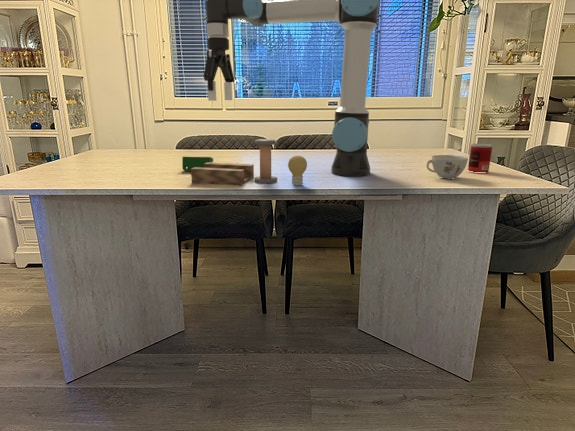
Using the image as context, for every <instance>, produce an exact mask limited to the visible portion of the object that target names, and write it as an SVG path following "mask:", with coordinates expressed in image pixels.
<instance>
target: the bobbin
mask: <svg viewBox="0 0 575 431" xmlns="http://www.w3.org/2000/svg"><path fill="white" fill-rule="evenodd" d="M276 141H277V140H276V139H268V138H267V139H266V138H265V139H264V138H261V139H255V140H254V142H255V145H256V146H257V145H258V146H259V176H254V178H253V180H254V183H255V184H259V185H260V184H261V185H263V184H264V185H267V184H268V185H269V184H270V185H271V184H275V183H278V177H276V176H272V146H273V145H276Z"/></svg>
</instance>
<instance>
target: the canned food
mask: <svg viewBox="0 0 575 431" xmlns="http://www.w3.org/2000/svg"><path fill="white" fill-rule="evenodd" d="M469 150H470V151H469V157H468V166H467V170H469V171H473V172H488V173H489V170H490V164H491V160H492V159H491V158H492V153H493V152H492V151H493V144H490V143H489V144H488V143H471V144H470V149H469Z"/></svg>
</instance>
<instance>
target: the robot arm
mask: <svg viewBox="0 0 575 431" xmlns="http://www.w3.org/2000/svg"><path fill="white" fill-rule="evenodd" d="M204 5H205V15H206V16H205V17H206V29H205V30H206V33H207V34H206V36H207V37H208V38H207V40H206V42H207V49H208V50H206V60H205V66H204V72H203V73H204V74H203V80H204V81H205V82H207V94H208V95H207V97H208V98H207V99H208V101H210V102H211V101H213V102H214V101H217V86H216V80H215V78H216V75H217V73H218V69H220V71H221V74H222V76H223V79H224V82H223V83H224V85H223V86H224V87H223V88H224V90H223V91H224V101H233V88H232V86H233V85H232V83H235V77H234V71H233V68H232V64H231V62H232V61H231V56H230V54H229V53H226V51H229V50H230V39H229V38H228V37H229V36H230V33H229V20H243V21H245V22H247V23H249V24H250V25H252V26H254V27H262V26H263V25H270V24H291V23H292V24H294V23H313V22H315V23H317V22H335V21H336V22H337V23H338V24H339V25H340V27H341V28H342V29H343V30H344V41H343V42H344V43H343V56H342V70H341V71H342V72H341V73H342V74H341V85H340V100H339V106H338V108H337V109H335V111H334V124H333V128H332V133H331V136H332V140H333V141H332V142H334V144H335V146H336V154H335V156H334V158H333V162H332V165H331V168H330V169H331V171H330V172H331V173H332V175H333V174H334V175H337V176H343V177H363V176H368V175H370V174H371V165H370V162H369V158H368V153H367V152H368V151H367V150H368V138H369V137H368V136H369V123H370V119H369V118H370V117H369V116H370V111H369V110H368V109H367V108H366V101H367V100H366V99H367V88H368V87H367V86H368V76H369V64H370V52H371V42H372V40H371V39H372V32H373V30H374V29H375V28H376V27H377V24H378V15H379V7H380V0H268V1H267V0H266V1H263V0H205V2H204Z"/></svg>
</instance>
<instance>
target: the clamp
mask: <svg viewBox="0 0 575 431" xmlns="http://www.w3.org/2000/svg"><path fill="white" fill-rule="evenodd" d="M207 162H211V163H214V158H213V157H211V156H182V164H181V165H182V167H181V168H182V170H183V171H184V172H191V169H192V168H194V167H202V168H204V164H205V163H207Z"/></svg>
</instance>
